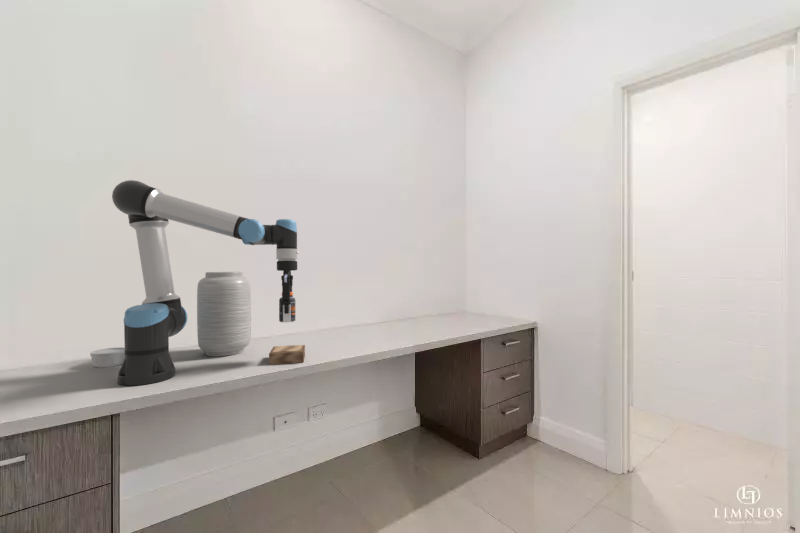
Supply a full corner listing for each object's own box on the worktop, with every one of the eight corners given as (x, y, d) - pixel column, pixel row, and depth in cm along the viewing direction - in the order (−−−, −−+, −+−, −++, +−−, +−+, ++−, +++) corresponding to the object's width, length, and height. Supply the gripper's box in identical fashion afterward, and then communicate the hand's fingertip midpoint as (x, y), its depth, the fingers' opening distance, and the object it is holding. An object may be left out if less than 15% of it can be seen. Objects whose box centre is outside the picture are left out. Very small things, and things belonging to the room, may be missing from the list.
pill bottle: (290, 322, 136) (290, 292, 136) (276, 322, 137) (275, 292, 137) (298, 320, 142) (298, 291, 142) (284, 320, 143) (284, 291, 143)
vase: (246, 345, 167) (245, 271, 167) (255, 353, 150) (255, 271, 150) (195, 351, 156) (194, 272, 156) (199, 361, 139) (198, 272, 139)
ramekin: (134, 359, 142) (133, 346, 142) (122, 367, 132) (121, 352, 132) (99, 362, 139) (99, 348, 139) (84, 370, 128) (84, 355, 128)
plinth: (269, 364, 132) (269, 352, 132) (273, 356, 144) (273, 345, 144) (303, 362, 135) (303, 351, 135) (305, 354, 147) (304, 344, 147)
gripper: (295, 259, 131) (296, 324, 131) (298, 260, 150) (299, 317, 150) (273, 259, 130) (274, 325, 130) (279, 260, 148) (280, 317, 148)
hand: (287, 320), depth 140 cm, fingers closed on pill bottle, 6 cm apart
